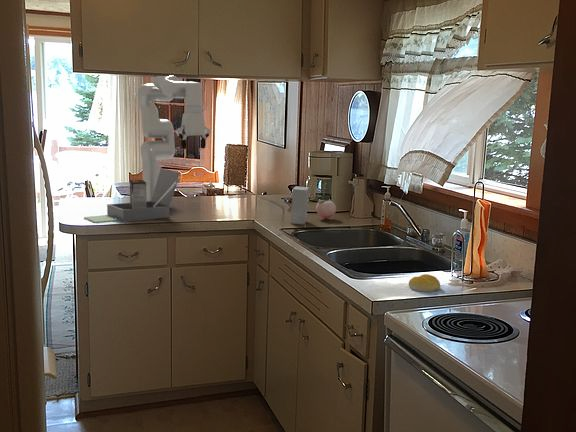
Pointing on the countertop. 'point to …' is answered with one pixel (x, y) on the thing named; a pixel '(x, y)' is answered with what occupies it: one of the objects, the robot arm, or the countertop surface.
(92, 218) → the mat
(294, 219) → the skincare box
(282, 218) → the countertop surface
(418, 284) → the bread roll
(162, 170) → the case
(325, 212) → the decorative fruit
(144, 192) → the coffee box
